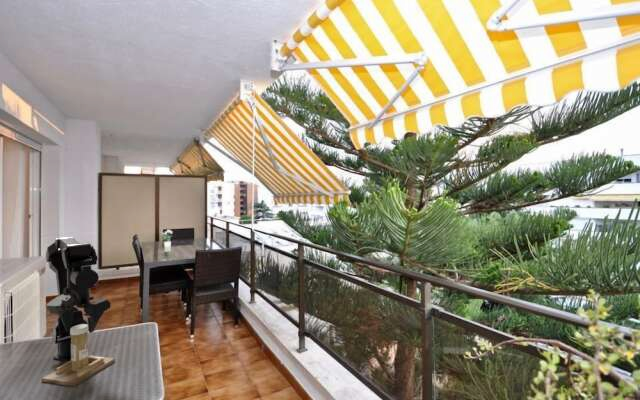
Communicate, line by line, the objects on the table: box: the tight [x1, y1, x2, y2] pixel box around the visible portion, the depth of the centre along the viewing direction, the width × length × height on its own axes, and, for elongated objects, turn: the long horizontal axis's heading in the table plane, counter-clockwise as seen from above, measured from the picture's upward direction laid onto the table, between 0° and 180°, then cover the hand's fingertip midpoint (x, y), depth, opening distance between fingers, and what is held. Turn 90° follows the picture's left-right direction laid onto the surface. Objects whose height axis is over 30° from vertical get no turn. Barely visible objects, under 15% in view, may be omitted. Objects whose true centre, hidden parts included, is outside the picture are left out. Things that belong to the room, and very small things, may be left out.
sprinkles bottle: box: [70, 323, 89, 371], centre depth 99 cm, size 5×5×14 cm
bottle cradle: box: [41, 354, 115, 387], centre depth 100 cm, size 12×14×2 cm
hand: (79, 331), depth 99 cm, fingers open, 9 cm apart
